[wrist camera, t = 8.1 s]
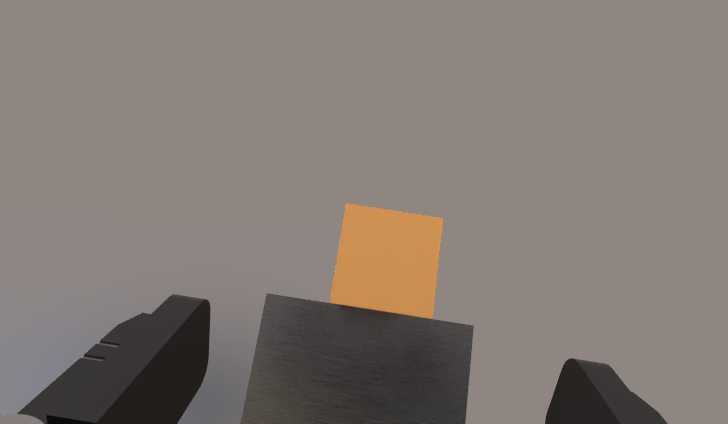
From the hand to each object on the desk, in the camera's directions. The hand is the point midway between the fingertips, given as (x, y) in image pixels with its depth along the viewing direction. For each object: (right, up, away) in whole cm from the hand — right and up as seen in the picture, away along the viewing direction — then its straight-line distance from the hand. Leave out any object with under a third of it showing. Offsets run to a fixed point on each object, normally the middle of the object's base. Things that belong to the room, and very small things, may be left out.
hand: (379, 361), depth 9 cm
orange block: (0, -2, +12) cm, 12 cm away
